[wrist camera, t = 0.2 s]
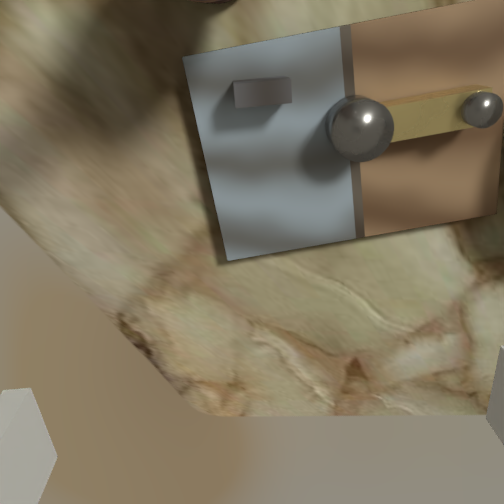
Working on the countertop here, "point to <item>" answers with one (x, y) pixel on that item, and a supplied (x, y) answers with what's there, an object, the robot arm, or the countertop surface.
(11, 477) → the robot arm
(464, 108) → the swing bar
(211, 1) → the mortar and pestle
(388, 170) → the board
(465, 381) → the countertop surface
